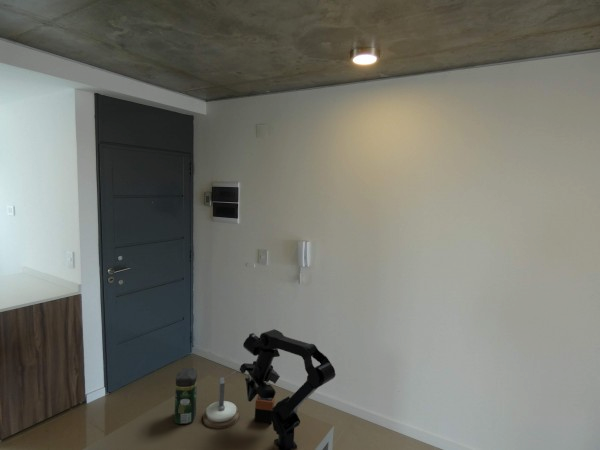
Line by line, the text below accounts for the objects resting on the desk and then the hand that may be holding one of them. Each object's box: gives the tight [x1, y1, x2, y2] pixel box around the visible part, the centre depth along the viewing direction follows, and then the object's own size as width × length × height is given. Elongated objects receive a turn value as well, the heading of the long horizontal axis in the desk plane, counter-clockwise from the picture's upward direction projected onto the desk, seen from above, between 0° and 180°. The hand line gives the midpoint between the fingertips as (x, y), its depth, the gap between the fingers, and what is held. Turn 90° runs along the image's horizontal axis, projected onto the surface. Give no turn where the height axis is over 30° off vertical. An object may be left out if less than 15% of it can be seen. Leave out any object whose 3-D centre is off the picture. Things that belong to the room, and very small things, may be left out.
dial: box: [205, 377, 237, 422], centre depth 139 cm, size 12×12×12 cm
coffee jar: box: [173, 367, 198, 425], centre depth 137 cm, size 10×8×19 cm
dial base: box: [202, 407, 240, 430], centre depth 139 cm, size 14×14×2 cm
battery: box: [254, 394, 275, 425], centre depth 139 cm, size 4×7×10 cm, turn 84°
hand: (249, 401), depth 132 cm, fingers closed
